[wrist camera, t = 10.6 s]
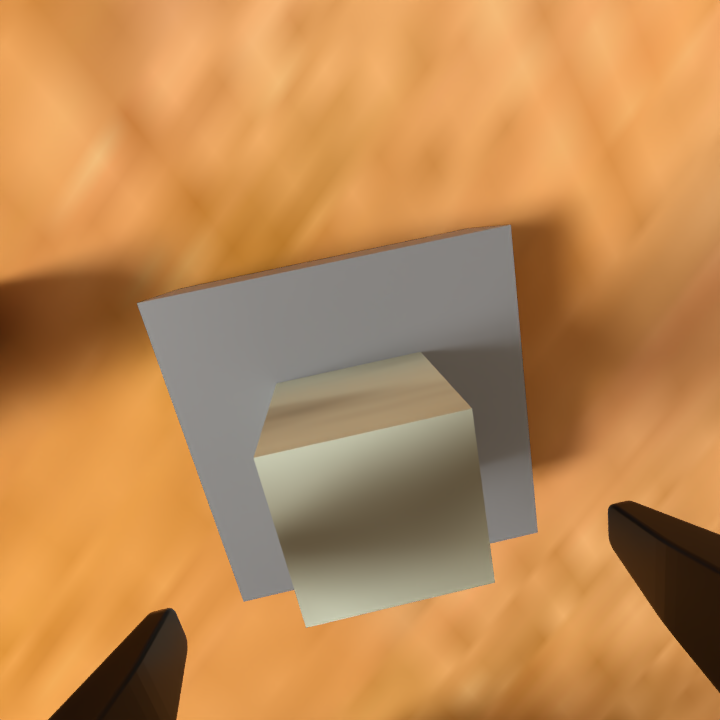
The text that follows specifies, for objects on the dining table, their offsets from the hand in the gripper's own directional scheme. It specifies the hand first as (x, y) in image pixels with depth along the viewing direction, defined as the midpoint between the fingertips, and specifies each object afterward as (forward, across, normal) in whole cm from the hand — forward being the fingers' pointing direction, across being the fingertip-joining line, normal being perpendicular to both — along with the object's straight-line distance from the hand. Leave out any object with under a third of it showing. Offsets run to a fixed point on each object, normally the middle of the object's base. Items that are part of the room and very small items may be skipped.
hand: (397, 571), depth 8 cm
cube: (+7, 0, 0) cm, 7 cm away
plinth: (+11, 0, 0) cm, 11 cm away
